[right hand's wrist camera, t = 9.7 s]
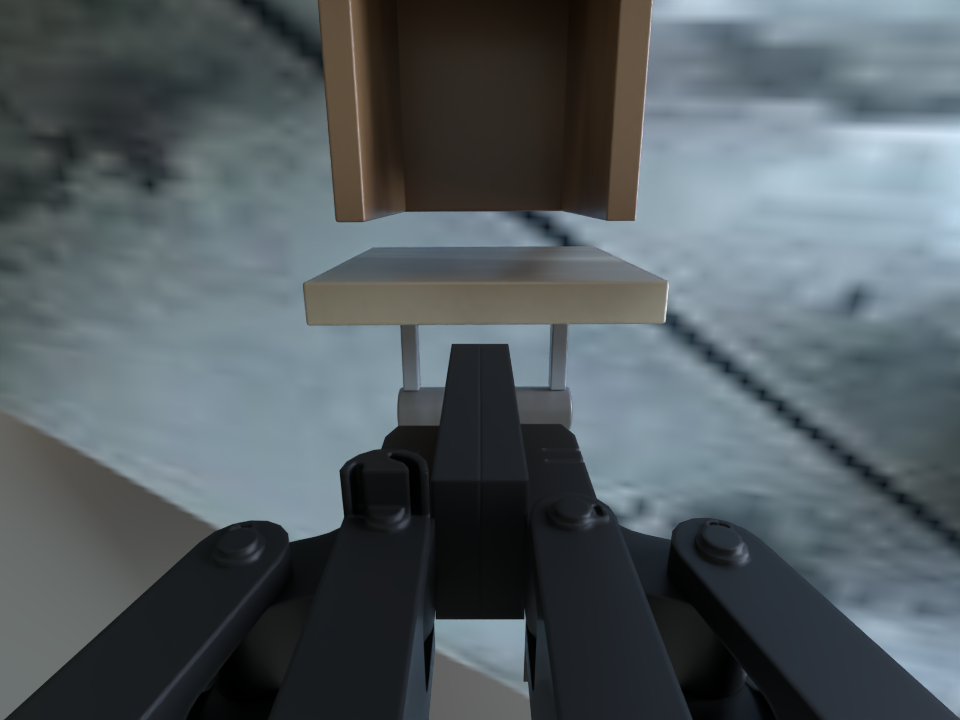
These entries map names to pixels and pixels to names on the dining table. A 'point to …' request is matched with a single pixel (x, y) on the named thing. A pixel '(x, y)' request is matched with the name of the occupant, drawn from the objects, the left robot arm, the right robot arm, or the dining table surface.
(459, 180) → the drawer
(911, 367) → the dining table surface
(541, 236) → the dining table surface
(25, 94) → the dining table surface
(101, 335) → the dining table surface
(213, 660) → the right robot arm
